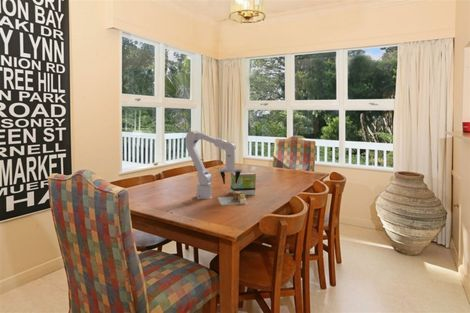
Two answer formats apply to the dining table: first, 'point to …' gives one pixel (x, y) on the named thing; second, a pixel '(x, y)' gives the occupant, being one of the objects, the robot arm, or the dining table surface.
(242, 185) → the tea box
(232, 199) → the winding board
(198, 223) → the dining table surface
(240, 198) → the lead tab
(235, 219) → the dining table surface
